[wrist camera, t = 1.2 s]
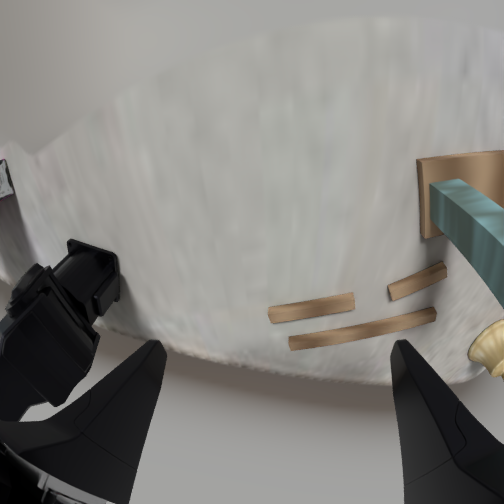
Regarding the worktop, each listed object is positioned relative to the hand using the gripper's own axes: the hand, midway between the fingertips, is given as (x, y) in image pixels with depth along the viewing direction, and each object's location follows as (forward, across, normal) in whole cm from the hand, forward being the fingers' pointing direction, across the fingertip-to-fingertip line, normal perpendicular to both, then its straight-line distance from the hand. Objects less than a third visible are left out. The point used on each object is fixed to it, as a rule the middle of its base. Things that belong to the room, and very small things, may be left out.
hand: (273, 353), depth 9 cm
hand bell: (+14, -29, +20) cm, 38 cm away
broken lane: (+13, -7, +11) cm, 18 cm away
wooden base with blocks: (+14, -19, -2) cm, 24 cm away
